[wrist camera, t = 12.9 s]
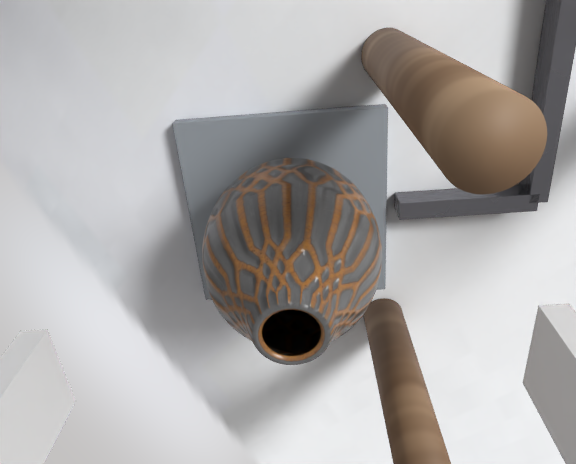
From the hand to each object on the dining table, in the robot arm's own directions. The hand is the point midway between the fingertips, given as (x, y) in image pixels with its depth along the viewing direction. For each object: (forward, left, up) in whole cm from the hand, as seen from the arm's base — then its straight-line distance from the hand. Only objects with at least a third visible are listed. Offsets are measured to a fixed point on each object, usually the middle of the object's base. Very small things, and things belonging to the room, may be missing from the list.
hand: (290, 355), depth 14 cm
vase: (0, 0, -10) cm, 10 cm away
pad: (0, 0, -11) cm, 11 cm away
